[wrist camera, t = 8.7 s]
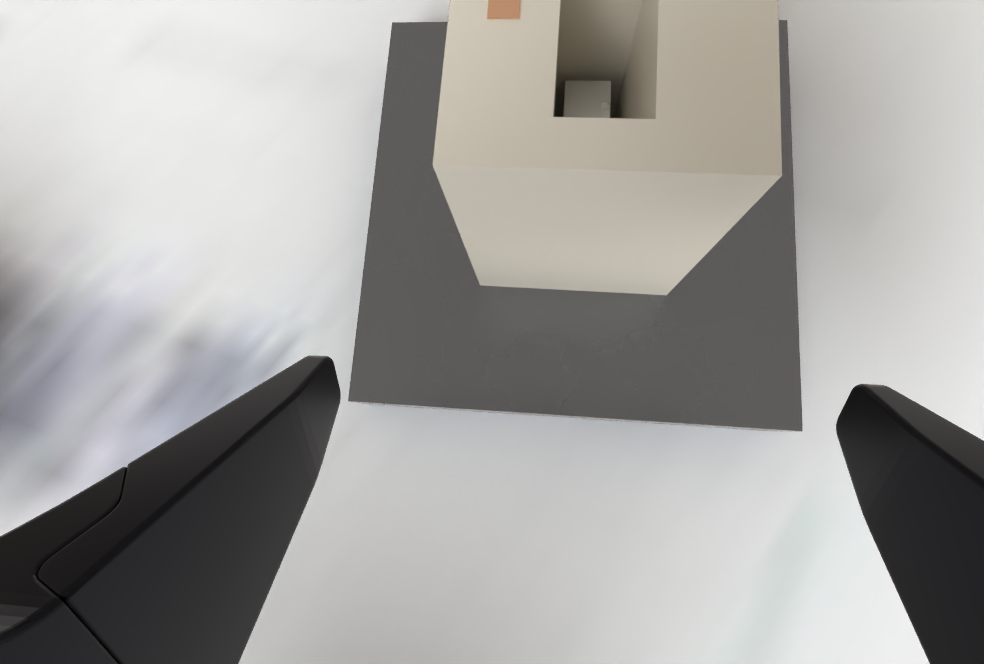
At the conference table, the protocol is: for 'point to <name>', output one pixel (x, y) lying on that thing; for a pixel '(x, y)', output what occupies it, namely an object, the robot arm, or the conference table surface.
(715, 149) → the beige slotted holder
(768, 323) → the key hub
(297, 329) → the conference table surface
